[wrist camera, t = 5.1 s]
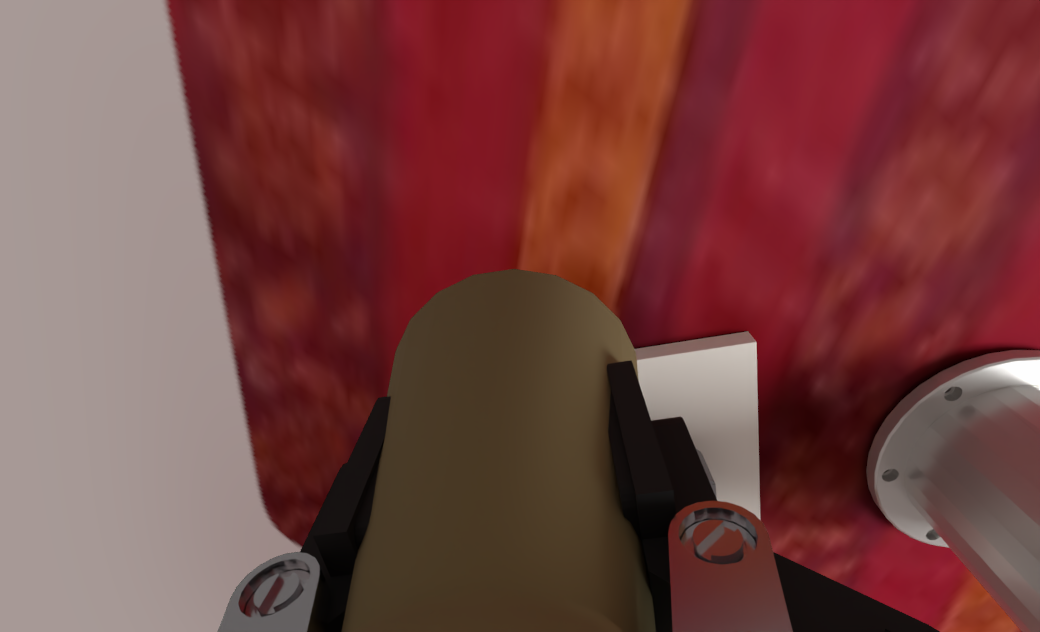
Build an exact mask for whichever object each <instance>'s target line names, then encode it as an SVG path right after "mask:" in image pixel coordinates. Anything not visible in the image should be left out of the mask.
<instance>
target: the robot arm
mask: <svg viewBox="0 0 1040 632" xmlns="http://www.w3.org/2000/svg"><path fill="white" fill-rule="evenodd" d="M607 372H608V377H609V382H610V386H611V395H610V410H609V425H608V434H609V439H610V444H611V450H612V455H613V461H614V466H615V472H616V477H617V482H618V488H619V493H620V499H621V504H622V510H623V515H624V518H626V519H627V520H628V521H629V522H630V523H631V524H632V526H633V528H634V530H635V531H636V533H637V535H638V537H639V538H640V540H641V542H642V546H643V551H644V557H645V562H646V567H647V572H648V577H649V582H650V587H651V593H652V598H653V607H654V617H655V626H656V632H939V631H938V630H936V629H934V628H933V627H931V626H929V625H927V624H925V623H923V622H921V621H919V620H917V619H915V618H912V617H910V616H908V615H906V614H904V613H902V612H900V611H898V610H895V609H893V608H891V607H889V606H887V605H885V604H883V603H880V602H878V601H876V600H874V599H872V598H870V597H868V596H866V595H863V594H861V593H859V592H857V591H855V590H853V589H851V588H849V587H846V586H844V585H842V584H840V583H838V582H836V581H834V580H831V579H829V578H827V577H825V576H823V575H821V574H819V573H817V572H814V571H812V570H810V569H808V568H806V567H804V566H802V565H800V564H797V563H795V562H793V561H791V560H789V559H787V558H785V557H782V556H780V555H778V554H776V553H774V552H773V550H772V546H771V542H770V538H769V534H768V532H767V530H766V528H765V526H764V524H763V523H762V522H761V521H760V520H759V519H758V518H757V517H756V515H755V514H753V513H752V512H750V511H748V510H746V509H745V508H743V507H741V506H738V505H735V504H732V503H729V502H722V501H717V499H716V496H715V494H714V492H713V489H712V487H711V484H710V482H709V479H708V477H707V475H706V472H705V470H704V467H703V465H702V463H701V460H700V458H699V455H698V453H697V450H696V448H695V446H694V443H693V441H692V438H691V436H690V434H689V431H688V429H687V426H686V424H685V422H684V420H683V418H682V417H673V418H666V419H659V420H652V421H651V419H650V416H649V412H648V409H647V406H646V403H645V400H644V397H643V394H642V391H641V388H640V385H639V381H638V378H637V375H636V372H635V369H634V366H633V363H632V360H630V361H623V362H616V363H610V364H608V365H607ZM390 400H391V396H388V397H381V398H378V399H377V401H376V403H375V405H374V407H373V409H372V411H371V414H370V416H369V418H368V420H367V422H366V424H365V426H364V428H363V431H362V433H361V435H360V437H359V439H358V441H357V443H356V446H355V448H354V450H353V452H352V454H351V456H350V458H349V460H348V463H346V464H343V466H342V467H341V468H340V470H339V472H338V474H337V476H336V478H335V480H334V483H333V485H332V487H331V489H330V491H329V493H328V495H327V497H326V499H325V501H324V503H323V505H322V507H321V510H320V512H319V514H318V516H317V518H316V520H315V522H314V524H313V526H312V528H311V530H310V532H309V535H308V537H307V539H306V541H305V543H304V545H303V547H302V549H301V551H300V552H294V553H287V554H283V555H280V556H277V557H275V558H272V559H270V560H269V561H267V562H265V563H263V564H261V565H260V566H258V567H257V568H256V569H254V570H253V571H252V572H250V573H249V574H248V575H247V576H246V577H245V578H244V579H243V580H242V581H241V582H240V584H239V585H238V586H237V587H236V589H235V591H234V593H233V595H232V596H231V598H230V601H229V603H228V606H227V609H226V611H225V614H224V616H223V619H222V621H221V624H220V627H219V629H218V632H341V631H342V626H343V621H344V616H345V611H346V606H347V600H348V595H349V590H350V585H351V580H352V575H353V569H354V564H355V559H356V557H357V553H358V549H359V547H360V545H361V543H362V541H363V538H364V536H365V533H366V530H367V528H368V524H369V520H370V516H371V510H372V504H373V497H374V491H375V484H376V478H377V471H378V465H379V459H380V456H381V451H382V447H383V443H384V439H385V434H386V427H387V420H388V413H389V406H390ZM866 473H867V481H868V488H869V490H870V493H871V495H872V498H873V500H874V502H875V503H876V505H877V506H878V507H879V509H880V510H881V511H882V513H883V514H884V516H885V517H886V518H887V519H888V520H889V521H890V522H891V523H892V524H893V525H894V526H895V527H896V528H897V529H898V530H900V531H901V532H903V533H904V534H906V535H908V536H909V537H911V538H913V539H916V540H918V541H921V542H923V543H926V544H931V545H936V546H942V547H948V548H950V549H951V550H952V551H953V552H954V553H955V554H956V556H957V557H958V558H959V559H960V560H961V561H962V563H963V564H964V565H965V566H966V567H967V568H968V569H969V571H970V572H971V573H972V574H973V575H974V576H975V578H976V579H977V580H978V581H979V582H980V583H981V585H982V586H983V587H984V588H985V589H986V590H987V592H988V593H989V594H990V595H991V596H992V597H993V598H994V600H995V601H996V602H997V603H998V604H999V605H1000V607H1001V608H1002V609H1003V610H1004V611H1005V612H1006V614H1007V615H1008V616H1009V617H1010V618H1011V619H1012V621H1013V622H1014V623H1015V624H1016V625H1017V626H1018V628H1019V629H1020V630H1021V631H1022V632H1040V351H1039V350H1009V351H1002V352H996V353H989V354H986V355H982V356H979V357H976V358H972V359H969V360H965V361H963V362H961V363H958V364H956V365H954V366H952V367H950V368H948V369H945V370H943V371H941V372H939V373H938V374H936V375H935V376H933V377H931V378H930V379H928V380H927V381H925V382H923V383H922V384H920V385H919V386H918V387H917V388H915V389H914V390H913V391H912V392H911V393H909V394H908V395H907V396H906V397H905V398H904V399H902V400H901V401H900V402H899V404H898V405H897V406H896V407H895V408H894V409H893V410H892V412H891V413H890V414H889V415H888V416H887V417H886V419H885V420H884V422H883V424H882V425H881V427H880V429H879V430H878V432H877V434H876V435H875V438H874V440H873V443H872V446H871V448H870V451H869V454H868V462H867V469H866Z"/></svg>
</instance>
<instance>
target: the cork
mask: <svg viewBox="0 0 1040 632" xmlns="http://www.w3.org/2000/svg"><path fill="white" fill-rule="evenodd" d="M630 360H632V363H633V366H634V369H635V372H636V375H637V378H638V368H637V358H636V352H635V349H634V347H633V345H632V343H631V341H630V339H629V337H628V335H627V333H626V331H625V329H624V327H623V325H622V323H621V321H620V320H619V319H618V318H617V317H616V316H615V315H614V314H613V313H612V312H611V311H610V310H609V309H608V308H607V307H606V306H605V305H604V304H603V303H602V302H601V301H600V300H599V299H598V298H597V297H596V296H595V295H594V294H593V293H591V292H589V291H587V290H585V289H583V288H581V287H579V286H577V285H575V284H573V283H571V282H569V281H567V280H564V279H562V278H560V277H558V276H556V275H550V274H544V273H537V272H531V271H524V270H518V269H511V270H504V271H498V272H491V273H484V274H477V275H472V276H470V277H468V278H466V279H464V280H462V281H460V282H458V283H456V284H454V285H452V286H450V287H448V288H446V289H444V290H442V291H440V292H438V293H436V294H435V295H434V296H433V297H432V298H431V299H430V300H429V301H428V302H427V303H426V304H425V305H424V306H423V307H422V308H421V309H420V310H419V311H418V312H417V313H416V314H415V315H414V316H413V317H412V318H411V320H410V322H409V324H408V326H407V328H406V330H405V332H404V335H403V337H402V339H401V341H400V343H399V345H398V347H397V350H396V353H395V358H394V363H393V368H392V373H391V378H390V384H389V389H388V394H387V397H388V396H391V400H390V406H389V413H388V420H387V427H386V434H385V439H384V443H383V447H382V451H381V456H380V459H379V465H378V471H377V478H376V484H375V491H374V497H373V504H372V510H371V516H370V520H369V524H368V528H367V530H366V533H365V536H364V538H363V541H362V543H361V545H360V547H359V549H358V553H357V557H356V559H355V564H354V569H353V575H352V580H351V585H350V590H349V595H348V600H347V606H346V611H345V616H344V621H343V626H342V631H341V632H656V626H655V617H654V607H653V598H652V593H651V587H650V582H649V577H648V572H647V567H646V562H645V557H644V551H643V546H642V542H641V540H640V538H639V537H638V535H637V533H636V531H635V530H634V528H633V526H632V524H631V523H630V522H629V521H628V520H627V519H626V518H624V515H623V510H622V504H621V499H620V493H619V488H618V482H617V477H616V472H615V466H614V461H613V455H612V450H611V444H610V439H609V434H608V425H609V410H610V395H611V386H610V382H609V377H608V372H607V365H608V364H610V363H616V362H623V361H630ZM638 381H639V379H638Z"/></svg>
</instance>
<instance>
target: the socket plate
mask: <svg viewBox="0 0 1040 632" xmlns="http://www.w3.org/2000/svg"><path fill="white" fill-rule="evenodd" d="M635 352H636V358H637V368H638V379H639V385H640V388H641V391H642V394H643V397H644V400H645V403H646V406H647V409H648V412H649V416H650V419H651V421H652V420H659V419H666V418H673V417H682V418H683V420H684V422H685V424H686V426H687V429H688V431H689V434H690V436H691V438H692V441H693V443H694V446H695V448H696V450H697V453H698V455H699V458H700V460H701V463H702V465H703V467H704V470H705V472H706V475H707V477H708V479H709V482H710V484H711V487H712V489H713V492H714V494H715V496H716V499H717V501H722V502H729V503H732V504H735V505H738V506H741V507H743V508H745V509H746V510H748V511H750V512H752V513H753V514H755V515H756V517H757V518H758V519H759V520H760V480H759V435H758V389H757V344H756V341H755V339H754V338H753V337H752V336H751V334H750V333H749V332H748V331H747V332H741V333H734V334H728V335H721V336H715V337H708V338H702V339H696V340H689V341H683V342H676V343H670V344H663V345H657V346H650V347H644V348H637V349H635Z"/></svg>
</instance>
